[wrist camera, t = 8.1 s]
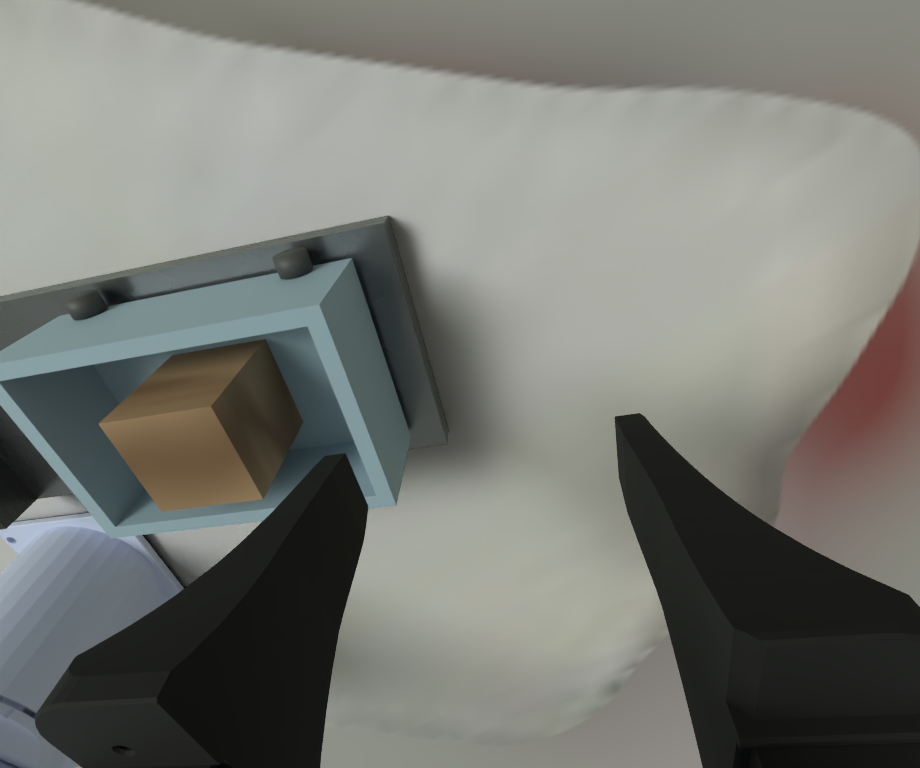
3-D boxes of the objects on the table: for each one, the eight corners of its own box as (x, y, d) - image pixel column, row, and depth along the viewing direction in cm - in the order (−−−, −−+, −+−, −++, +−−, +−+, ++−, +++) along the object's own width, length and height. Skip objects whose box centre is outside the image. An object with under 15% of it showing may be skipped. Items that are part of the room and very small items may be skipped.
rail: (448, 430, 24) (443, 474, 21) (38, 487, 27) (-8, 530, 25) (388, 215, 19) (372, 239, 16) (-108, 318, 22) (-185, 352, 20)
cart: (415, 449, 23) (401, 519, 19) (172, 482, 25) (120, 550, 21) (344, 237, 18) (310, 280, 14) (47, 298, 20) (-47, 349, 16)
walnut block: (303, 421, 22) (263, 499, 18) (217, 434, 22) (161, 511, 18) (265, 338, 20) (210, 406, 16) (172, 355, 20) (98, 423, 16)
